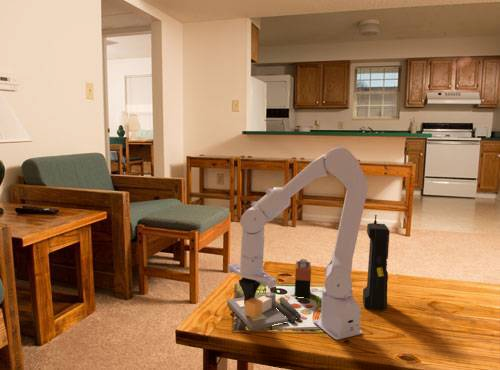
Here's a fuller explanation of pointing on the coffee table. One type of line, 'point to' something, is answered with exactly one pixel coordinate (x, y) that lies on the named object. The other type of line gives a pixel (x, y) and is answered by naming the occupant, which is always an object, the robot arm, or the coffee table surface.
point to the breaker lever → (259, 304)
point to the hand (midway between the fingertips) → (249, 305)
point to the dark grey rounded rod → (290, 308)
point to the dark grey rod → (285, 312)
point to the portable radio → (377, 267)
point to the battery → (302, 278)
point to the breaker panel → (262, 320)
